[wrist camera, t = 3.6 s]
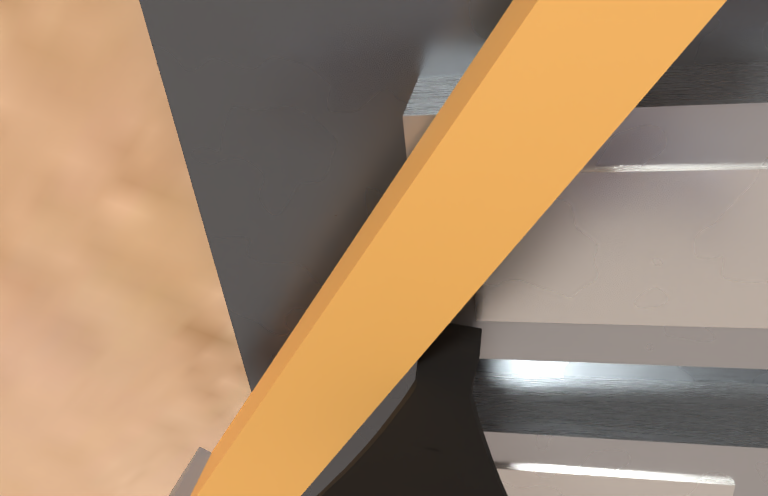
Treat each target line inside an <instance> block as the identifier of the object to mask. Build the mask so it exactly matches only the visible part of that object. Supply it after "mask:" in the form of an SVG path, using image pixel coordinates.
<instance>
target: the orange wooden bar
mask: <svg viewBox="0 0 768 496" xmlns="http://www.w3.org/2000/svg"><path fill="white" fill-rule="evenodd" d="M726 1H727V0H513V1H512V2H511V4H510V5H509V7H508V8H507V10H506V11H505V13H504V14H503V16H502V17H501V19H500V20H499V22H498V23H497V25H496V26H495V28H494V29H493V31H492V32H491V34H490V35H489V37H488V38H487V40H486V41H485V43H484V44H483V46H482V47H481V49H480V50H479V52H478V53H477V55H476V56H475V58H474V59H473V61H472V62H471V64H470V65H469V67H468V68H467V70H466V71H465V73H464V74H463V76H462V77H461V79H460V81H459V82H458V84H457V85H456V87H455V88H454V90H453V91H452V93H451V94H450V96H449V97H448V99H447V100H446V102H445V103H444V105H443V106H442V108H441V109H440V111H439V112H438V114H437V115H436V117H435V118H434V120H433V121H432V123H431V124H430V126H429V127H428V129H427V130H426V132H425V133H424V135H423V136H422V138H421V139H420V141H419V142H418V144H417V145H416V147H415V148H414V150H413V151H412V153H411V154H410V156H409V157H408V159H407V160H406V162H405V163H404V165H403V166H402V168H401V169H400V171H399V172H398V174H397V175H396V177H395V178H394V180H393V181H392V183H391V184H390V186H389V187H388V189H387V190H386V192H385V193H384V195H383V196H382V198H381V199H380V201H379V202H378V204H377V205H376V207H375V208H374V210H373V211H372V213H371V214H370V216H369V217H368V219H367V220H366V222H365V223H364V225H363V226H362V228H361V229H360V231H359V232H358V234H357V235H356V237H355V238H354V240H353V241H352V243H351V244H350V246H349V247H348V249H347V250H346V252H345V253H344V255H343V256H342V258H341V259H340V261H339V262H338V264H337V265H336V267H335V268H334V270H333V271H332V273H331V274H330V276H329V277H328V279H327V280H326V282H325V283H324V285H323V286H322V288H321V289H320V291H319V292H318V294H317V295H316V297H315V298H314V300H313V301H312V303H311V304H310V306H309V307H308V309H307V310H306V312H305V313H304V315H303V316H302V318H301V319H300V321H299V322H298V324H297V325H296V327H295V328H294V330H293V331H292V333H291V334H290V336H289V337H288V339H287V340H286V342H285V343H284V345H283V346H282V348H281V349H280V351H279V352H278V354H277V355H276V357H275V358H274V360H273V361H272V363H271V364H270V366H269V367H268V369H267V370H266V372H265V373H264V375H263V376H262V378H261V379H260V381H259V382H258V384H257V385H256V387H255V388H254V390H253V391H252V393H251V394H250V396H249V397H248V399H247V400H246V402H245V403H244V405H243V406H242V408H241V409H240V411H239V412H238V414H237V415H236V417H235V418H234V420H233V421H232V423H231V424H230V426H229V427H228V429H227V430H226V432H225V433H224V435H223V436H222V438H221V439H220V441H219V442H218V444H217V445H216V447H215V448H214V450H213V451H212V453H211V452H209V451H207V450H205V449H203V448H201V447H199V449H198V450H197V452H196V453H195V455H194V457H193V458H192V460H191V461H190V463H189V464H188V466H187V467H186V469H185V471H184V472H183V474H182V475H181V477H180V478H179V480H178V482H177V483H176V485H175V486H174V488H173V489H172V491H171V493H170V495H169V496H301V495H302V494H303V493H304V492H305V490H306V489H307V488H308V487H309V486H310V485H311V483H312V482H313V481H314V480H315V479H316V478H317V476H318V475H319V474H320V473H321V472H322V471H323V469H324V468H325V467H326V466H327V465H328V464H329V462H330V461H331V460H332V459H333V458H334V457H335V456H336V454H337V453H338V452H339V451H340V450H341V449H342V447H343V446H344V445H345V444H346V443H347V442H348V440H349V439H350V438H351V437H352V436H353V435H354V433H355V432H356V431H357V430H358V429H359V428H360V426H361V425H362V424H363V423H364V422H365V421H366V419H367V418H368V417H369V416H370V415H371V414H372V412H373V411H374V410H375V409H376V408H377V407H378V406H379V404H380V403H381V402H382V401H383V400H384V399H385V397H386V396H387V395H388V394H389V393H390V392H391V390H392V389H393V388H394V387H395V386H396V385H397V383H398V382H399V381H400V380H401V379H402V378H403V376H404V375H405V374H406V373H407V372H408V371H409V369H410V368H411V367H412V366H413V365H414V364H415V362H416V361H417V360H418V359H419V358H420V357H421V356H422V354H423V353H424V352H425V351H426V350H427V349H428V347H429V346H430V345H431V344H432V343H433V342H434V340H435V339H436V338H437V337H438V336H439V335H440V333H441V332H442V331H443V330H444V329H445V328H446V326H447V325H448V324H449V323H450V322H451V321H452V319H453V318H454V317H455V316H456V315H457V314H458V312H459V311H460V310H461V309H462V308H463V307H464V306H465V304H466V303H467V302H468V301H469V300H470V299H471V297H472V296H473V295H474V294H475V293H476V292H477V290H478V289H479V288H480V287H481V286H482V285H483V283H484V282H485V281H486V280H487V279H488V278H489V276H490V275H491V274H492V273H493V272H494V271H495V269H496V268H497V267H498V266H499V265H500V264H501V262H502V261H503V260H504V259H505V258H506V257H507V255H508V254H509V253H510V252H511V251H512V250H513V249H514V247H515V246H516V245H517V244H518V243H519V242H520V240H521V239H522V238H523V237H524V236H525V235H526V233H527V232H528V231H529V230H530V229H531V228H532V226H533V225H534V224H535V223H536V222H537V221H538V219H539V218H540V217H541V216H542V215H543V214H544V212H545V211H546V210H547V209H548V208H549V207H550V205H551V204H552V203H553V202H554V201H555V200H556V199H557V197H558V196H559V195H560V194H561V193H562V192H563V190H564V189H565V188H566V187H567V186H568V185H569V183H570V182H571V181H572V180H573V179H574V178H575V176H576V175H577V174H578V173H579V172H580V171H581V169H582V168H583V167H584V166H585V165H586V164H587V162H588V161H589V160H590V159H591V158H592V157H593V155H594V154H595V153H596V152H597V151H598V150H599V149H600V147H601V146H602V145H603V144H604V143H605V142H606V140H607V139H608V138H609V137H610V136H611V135H612V133H613V132H614V131H615V130H616V129H617V128H618V126H619V125H620V124H621V123H622V122H623V121H624V119H625V118H626V117H627V116H628V115H629V114H630V112H631V111H632V110H633V109H634V108H635V107H636V105H637V104H638V103H639V102H640V101H641V100H642V99H643V97H644V96H645V95H646V94H647V93H648V92H649V90H650V89H651V88H652V87H653V86H654V85H655V83H656V82H657V81H658V80H659V79H660V78H661V76H662V75H663V74H664V73H665V72H666V71H667V69H668V68H669V67H670V66H671V65H672V64H673V62H674V61H675V60H676V59H677V58H678V57H679V55H680V54H681V53H682V52H683V51H684V50H685V48H686V47H687V46H688V45H689V44H690V43H691V42H692V40H693V39H694V38H695V37H696V36H697V35H698V33H699V32H700V31H701V30H702V29H703V28H704V26H705V25H706V24H707V23H708V22H709V21H710V19H711V18H712V17H713V16H714V15H715V14H716V12H717V11H718V10H719V9H720V8H721V7H722V5H723V4H724V3H725V2H726Z"/></svg>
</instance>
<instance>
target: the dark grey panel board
mask: <svg viewBox="0 0 768 496" xmlns="http://www.w3.org/2000/svg"><path fill="white" fill-rule="evenodd" d="M139 1H140V4H141V8H142V11H143V15H144V18H145V22H146V25H147V29H148V32H149V36H150V39H151V43H152V46H153V50H154V53H155V57H156V60H157V64H158V67H159V71H160V74H161V78H162V81H163V85H164V88H165V92H166V95H167V99H168V102H169V106H170V109H171V113H172V116H173V120H174V123H175V126H176V130H177V133H178V137H179V140H180V144H181V147H182V151H183V154H184V158H185V161H186V165H187V168H188V172H189V175H190V179H191V182H192V186H193V189H194V193H195V196H196V200H197V203H198V207H199V210H200V214H201V217H202V221H203V224H204V228H205V231H206V235H207V238H208V242H209V245H210V249H211V252H212V256H213V259H214V263H215V266H216V270H217V273H218V277H219V280H220V284H221V287H222V291H223V294H224V298H225V301H226V305H227V308H228V312H229V315H230V319H231V322H232V326H233V329H234V333H235V336H236V339H237V343H238V346H239V350H240V353H241V357H242V360H243V364H244V367H245V371H246V374H247V378H248V381H249V385H250V388H251V392H252V391H253V390H254V388H255V387H256V385H257V384H258V382H259V381H260V379H261V378H262V376H263V375H264V373H265V372H266V370H267V369H268V367H269V366H270V364H271V363H272V361H273V360H274V358H275V357H276V355H277V354H278V352H279V351H280V349H281V348H282V346H283V345H284V343H285V342H286V340H287V339H288V337H289V336H290V334H291V333H292V331H293V330H294V328H295V327H296V325H297V324H298V322H299V321H300V319H301V318H302V316H303V315H304V313H305V312H306V310H307V309H308V307H309V306H310V304H311V303H312V301H313V300H314V298H315V297H316V295H317V294H318V292H319V291H320V289H321V288H322V286H323V285H324V283H325V282H326V280H327V279H328V277H329V276H330V274H331V273H332V271H333V270H334V268H335V267H336V265H337V264H338V262H339V261H340V259H341V258H342V256H343V255H344V253H345V252H346V250H347V249H348V247H349V246H350V244H351V243H352V241H353V240H354V238H355V237H356V235H357V234H358V232H359V231H360V229H361V228H362V226H363V225H364V223H365V222H366V220H367V219H368V217H369V216H370V214H371V213H372V211H373V210H374V208H375V207H376V205H377V204H378V202H379V201H380V199H381V198H382V196H383V195H384V193H385V192H386V190H387V189H388V187H389V186H390V184H391V183H392V181H393V180H394V178H395V177H396V175H397V174H398V172H399V171H400V169H401V168H402V166H403V165H404V163H405V162H406V160H407V155H406V145H405V136H404V126H403V114H404V111H405V109H406V107H407V104H408V102H409V99H410V97H411V95H412V92H413V90H414V87H415V85H416V83H417V80H418V78H433V77H454V76H463V74H464V73H465V71H466V70H467V68H468V67H469V65H470V64H471V62H472V61H473V59H474V58H475V56H476V55H477V53H478V52H479V50H480V49H481V47H482V46H483V44H484V43H485V41H486V40H487V38H488V37H489V35H490V34H491V32H492V31H493V29H494V28H495V26H496V25H497V23H498V22H499V20H500V19H501V17H502V16H503V14H504V13H505V11H506V10H507V8H508V7H509V5H510V4H511V2H512V1H513V0H139ZM764 61H768V0H727V1H726V2H725V3H724V4H723V5H722V7H721V8H720V9H719V10H718V11H717V12H716V14H715V15H714V16H713V17H712V18H711V19H710V21H709V22H708V23H707V24H706V25H705V26H704V28H703V29H702V30H701V31H700V32H699V33H698V35H697V36H696V37H695V38H694V39H693V40H692V42H691V43H690V44H689V45H688V46H687V47H686V48H685V50H684V51H683V52H682V53H681V54H680V55H679V57H678V58H677V59H676V60H675V61H674V62H673V64H672V65H671V66H682V65H702V64H723V63H744V62H764ZM417 361H418V360H417ZM417 361H416V362H415V364H414V365H413V366H412V367H411V368H410V369H409V371H408V372H407V373H406V374H405V375H404V376H403V378H402V379H401V380H400V381H399V382H398V383H397V385H396V386H395V387H394V388H393V389H392V390H391V392H390V393H389V394H388V395H387V396H386V397H385V399H384V400H383V401H382V402H381V403H380V404H379V406H378V407H377V408H376V409H375V410H374V411H373V412H372V414H371V415H370V416H369V417H368V418H367V419H366V421H365V422H364V423H363V424H362V425H361V426H360V428H359V429H358V430H357V431H356V432H355V433H354V435H353V436H352V437H351V438H350V439H349V440H348V442H347V443H346V444H345V445H344V446H343V447H342V449H341V450H340V451H339V452H338V453H337V454H336V456H335V457H334V458H333V459H332V460H331V461H330V462H329V464H328V465H327V466H326V467H325V468H324V469H323V471H322V472H321V473H320V474H319V475H318V476H317V478H316V479H315V480H314V481H313V482H312V483H311V485H310V486H309V487H308V488H307V489H306V490H305V492H304V493H303V494H302V495H301V496H317V495H318V494H319V493H320V492H321V491H322V490H323V489H324V488H325V487H326V486H327V485H328V484H329V483H330V482H331V481H332V480H333V479H334V478H335V477H336V476H337V475H338V474H339V473H341V472H342V471H343V470H344V469H345V468H346V467H347V465H348V464H349V463H350V462H351V461H352V460H353V459H354V458H355V457H356V456H357V455H358V454H359V453H360V451H361V450H362V449H363V448H364V447H365V446H366V445H367V444H368V442H369V441H370V440H371V439H372V438H373V437H374V435H375V434H376V433H377V432H378V431H379V429H380V428H381V427H382V425H383V424H384V423H385V422H386V420H387V419H388V418H389V416H390V415H391V414H392V412H393V411H394V410H395V408H396V407H397V406H398V405H399V403H400V402H401V400H402V399H403V398H404V396H405V395H406V393H407V392H408V390H409V389H410V387H411V386H412V384H413V382H414V381H415V377H416V369H417ZM477 372H492V373H516V374H540V375H564V376H588V377H612V378H636V379H659V380H683V381H707V382H731V383H755V384H768V369H744V368H717V367H691V366H664V365H637V364H611V363H584V362H558V361H531V360H505V359H479V362H478V367H477Z"/></svg>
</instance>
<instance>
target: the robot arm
mask: <svg viewBox="0 0 768 496" xmlns="http://www.w3.org/2000/svg"><path fill="white" fill-rule="evenodd" d="M481 335H482V328H476V327H471V326H465V325H459V324H453V323H449V324H448V325H447V326H446V328H445V329H444V330H443V331H442V332H441V333H440V335H439V336H438V337H437V338H436V339H435V340H434V342H433V343H432V344H431V345H430V346H429V347H428V349H427V350H426V351H425V352H424V353H423V354H422V356H421V357H420V358H419V359H418V361H417V369H416V377H415V381H414V382H413V384H412V386H411V387H410V389H409V390H408V392H407V393H406V395H405V396H404V398H403V399H402V400H401V402H400V403H399V405H398V406H397V407H396V408H395V410H394V411H393V412H392V414H391V415H390V416H389V418H388V419H387V420H386V422H385V423H384V424H383V425H382V427H381V428H380V429H379V431H378V432H377V433H376V434H375V435H374V437H373V438H372V439H371V440H370V441H369V442H368V444H367V445H366V446H365V447H364V448H363V449H362V450H361V451H360V453H359V454H358V455H357V456H356V457H355V458H354V459H353V460H352V461H351V462H350V463H349V464H348V465H347V467H346V468H345V469H344V470H343V471H342V472H341V473H339V474H338V475H337V476H336V477H335V478H334V479H333V480H332V481H331V482H330V483H329V484H328V485H327V486H326V487H325V488H324V489H323V490H322V491H321V492H320V493H319V494H318V495H317V496H508V495H507V493H506V490H505V488H504V486H503V483H502V481H501V479H500V476H499V473H498V471H497V468H496V466H495V463H494V460H493V458H492V455H491V452H490V449H489V446H488V444H487V441H486V438H485V435H484V432H483V428H482V425H481V422H480V419H479V415H478V411H477V407H476V404H475V400H474V396H473V388H474V382H475V377H476V372H477V367H478V362H479V357H480V348H481Z"/></svg>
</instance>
